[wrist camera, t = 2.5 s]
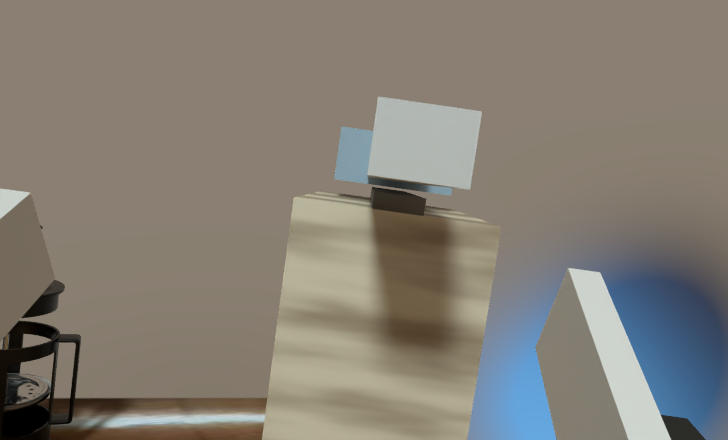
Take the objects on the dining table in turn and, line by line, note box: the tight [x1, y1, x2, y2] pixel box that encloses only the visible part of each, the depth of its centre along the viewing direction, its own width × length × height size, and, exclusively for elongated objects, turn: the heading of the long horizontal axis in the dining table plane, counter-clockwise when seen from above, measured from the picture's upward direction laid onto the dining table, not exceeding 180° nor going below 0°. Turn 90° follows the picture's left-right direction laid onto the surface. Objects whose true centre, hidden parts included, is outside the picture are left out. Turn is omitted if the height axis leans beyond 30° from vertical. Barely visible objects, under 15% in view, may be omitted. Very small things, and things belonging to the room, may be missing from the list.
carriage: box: [335, 97, 482, 195], centre depth 34 cm, size 28×9×4 cm, turn 0°
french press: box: [0, 225, 81, 440], centre depth 53 cm, size 12×9×23 cm
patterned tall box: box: [262, 187, 501, 440], centre depth 41 cm, size 18×12×31 cm, turn 0°
